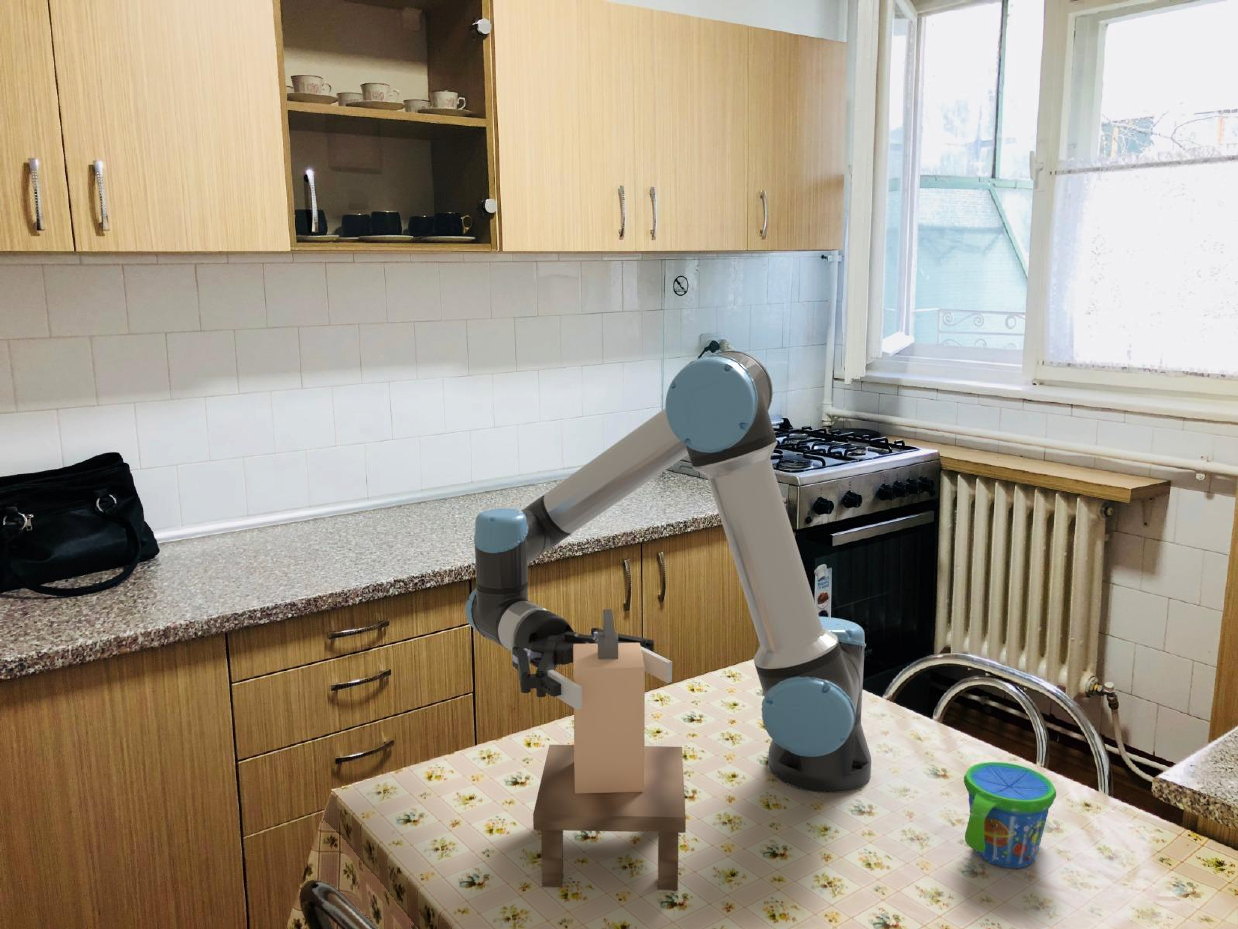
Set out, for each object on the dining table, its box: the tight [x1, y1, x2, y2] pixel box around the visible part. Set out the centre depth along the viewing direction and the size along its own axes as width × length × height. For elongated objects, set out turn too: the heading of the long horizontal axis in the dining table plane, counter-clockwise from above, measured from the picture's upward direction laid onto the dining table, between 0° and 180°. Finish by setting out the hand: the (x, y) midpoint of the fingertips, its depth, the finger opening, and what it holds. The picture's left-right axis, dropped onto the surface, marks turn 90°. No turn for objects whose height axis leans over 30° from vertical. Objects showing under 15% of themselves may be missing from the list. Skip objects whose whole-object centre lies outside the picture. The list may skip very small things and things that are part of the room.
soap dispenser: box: [572, 608, 646, 794], centre depth 122 cm, size 13×9×22 cm
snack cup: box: [963, 761, 1057, 869], centre depth 126 cm, size 16×10×10 cm
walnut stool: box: [532, 744, 687, 891], centre depth 127 cm, size 18×18×10 cm
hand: (626, 685), depth 121 cm, fingers open, 13 cm apart
